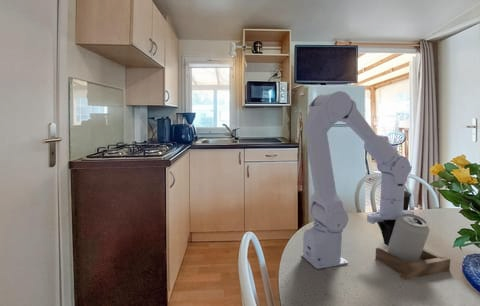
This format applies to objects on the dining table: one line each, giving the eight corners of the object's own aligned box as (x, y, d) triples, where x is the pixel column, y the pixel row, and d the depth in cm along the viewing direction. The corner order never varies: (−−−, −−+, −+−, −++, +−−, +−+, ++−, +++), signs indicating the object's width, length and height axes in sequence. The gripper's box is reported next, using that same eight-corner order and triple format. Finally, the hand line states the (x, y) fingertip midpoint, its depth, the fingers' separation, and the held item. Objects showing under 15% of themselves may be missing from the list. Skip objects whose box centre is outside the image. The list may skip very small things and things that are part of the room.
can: (423, 268, 72) (438, 228, 67) (394, 266, 72) (407, 226, 68) (408, 249, 79) (421, 212, 75) (381, 247, 79) (392, 209, 75)
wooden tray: (405, 279, 66) (406, 267, 66) (372, 259, 76) (373, 248, 76) (449, 270, 70) (450, 259, 70) (412, 252, 80) (413, 242, 80)
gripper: (400, 192, 84) (397, 236, 85) (360, 196, 80) (357, 242, 81) (422, 198, 77) (418, 246, 79) (379, 202, 73) (376, 253, 74)
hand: (389, 245), depth 79 cm, fingers closed, pressing on can
